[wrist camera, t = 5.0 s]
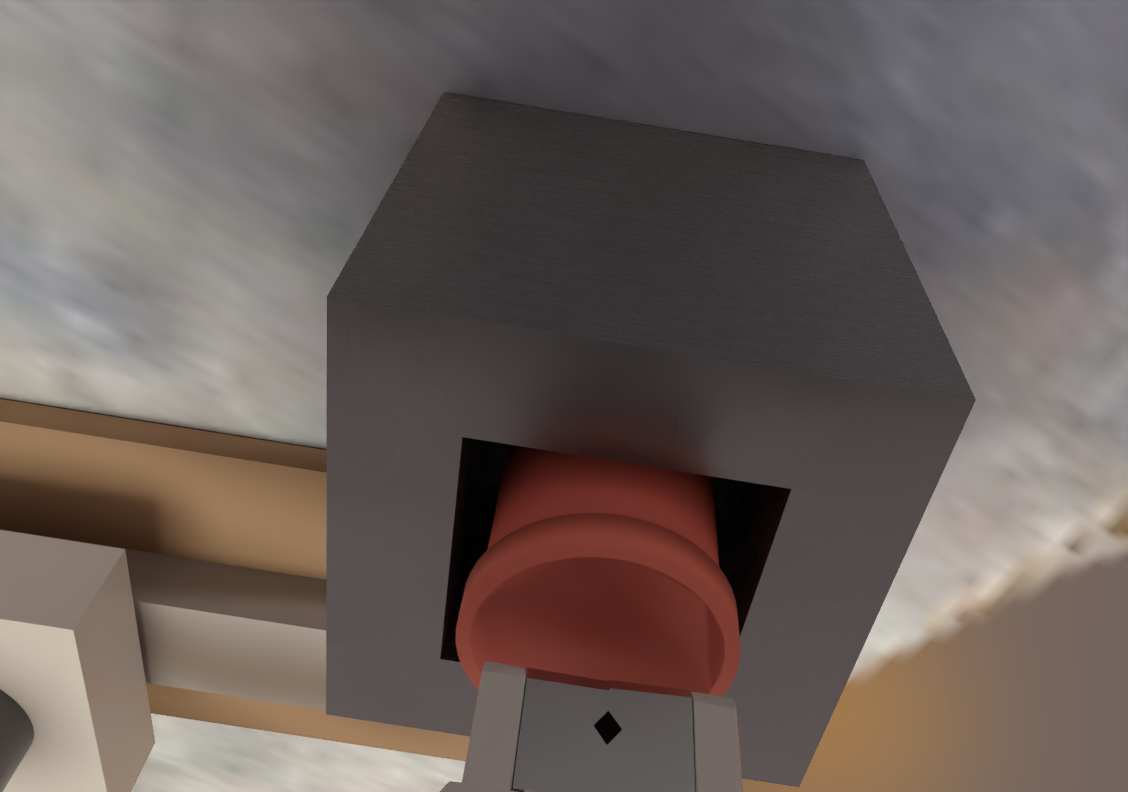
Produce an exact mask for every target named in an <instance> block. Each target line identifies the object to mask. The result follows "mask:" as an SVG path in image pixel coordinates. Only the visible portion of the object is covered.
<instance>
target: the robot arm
mask: <svg viewBox="0 0 1128 792" xmlns="http://www.w3.org/2000/svg"><path fill="white" fill-rule="evenodd" d="M526 668H527V667H521V666H514V665H508V664H502V663H495V662H489V661H485V664H484V667H483V671H482V674H481V679H480V685H479V691H478V696H477V702H476V707H475V713H474V718H473V724H472V730H471V735H470V741H469V746H468V752H467V757H466V763H465V769H464V774H463V780H462V783H458V782H449V783H448V784H447V785H446V786H445V787H444V788H443V789H442V790H441V791H440V792H743V784H742V772H741V760H740V748H739V736H738V724H737V712H736V705H735V703H734V701H733V699H732V698H731V697H726V696H719V695H712V694H705V693H697V692H689V691H688V690H683V689H676V688H668V687H660V686H653V685H645V684H637V683H630V682H622V681H615V680H608V681H603V680H597V679H592V678H586V677H580V676H574V675H568V674H563V673H557V672H551V671H545V670H539V669H534V668H528V669H527V674H526Z"/></svg>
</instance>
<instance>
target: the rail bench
mask: <svg viewBox="0 0 1128 792" xmlns="http://www.w3.org/2000/svg"><path fill="white" fill-rule="evenodd" d="M0 530H4V531H11V532H17V533H24V534H30V535H37V536H43V537H50V538H56V539H62V540H69V541H75V542H82V543H88V544H95V545H101V546H107V547H114V548H120V549H125V552H126V558H127V564H128V571H129V577H130V584H131V590H132V597H133V603H134V610H135V616H136V623H137V629H138V636H139V642H140V649H141V655H142V662H143V668H144V675H145V681H146V687H147V694H148V700H149V707H150V713H154V714H161V715H167V716H174V717H180V718H187V719H193V720H200V721H206V722H213V723H219V724H226V725H232V726H239V727H245V728H252V729H258V730H265V731H272V732H278V733H285V734H291V735H298V736H304V737H311V738H317V739H324V740H330V741H337V742H343V743H350V744H356V745H363V746H369V747H376V748H382V749H389V750H396V751H402V752H409V753H415V754H422V755H428V756H435V757H441V758H448V759H454V760H461V761H466V757H467V752H468V746H469V741H470V736H463V735H457V734H450V733H444V732H437V731H431V730H424V729H418V728H411V727H405V726H398V725H392V724H385V723H379V722H372V721H366V720H359V719H352V718H346V717H339V716H333V715H326V541H327V450H322V449H316V448H309V447H303V446H297V445H290V444H284V443H278V442H271V441H265V440H258V439H252V438H246V437H239V436H233V435H227V434H220V433H214V432H208V431H201V430H195V429H188V428H182V427H176V426H169V425H163V424H157V423H150V422H144V421H138V420H131V419H125V418H119V417H112V416H106V415H99V414H93V413H87V412H80V411H74V410H68V409H61V408H55V407H49V406H42V405H36V404H29V403H23V402H17V401H10V400H4V399H0Z"/></svg>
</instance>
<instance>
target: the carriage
mask: <svg viewBox="0 0 1128 792" xmlns="http://www.w3.org/2000/svg"><path fill="white" fill-rule="evenodd" d="M154 743H155V739H154V733H153V726H152V720H151V713H150V707H149V700H148V694H147V687H146V681H145V675H144V668H143V662H142V655H141V649H140V642H139V636H138V629H137V623H136V616H135V610H134V603H133V597H132V590H131V584H130V577H129V571H128V564H127V558H126V552H125V549H120V548H114V547H107V546H101V545H95V544H88V543H82V542H75V541H69V540H62V539H56V538H50V537H43V536H37V535H30V534H24V533H17V532H11V531H4V530H0V792H131V790H132V788H133V786H134V784H135V782H136V780H137V778H138V776H139V774H140V772H141V770H142V768H143V766H144V764H145V762H146V760H147V758H148V756H149V754H150V751H151V749H152V747H153V745H154Z"/></svg>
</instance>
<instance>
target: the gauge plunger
mask: <svg viewBox="0 0 1128 792" xmlns="http://www.w3.org/2000/svg"><path fill="white" fill-rule="evenodd" d="M456 647H457V653H458V657H459V659H460V662H461V665H462V667H463V669H464V671H465V673H466V675H467V676H468V678H469V680H470V681H471V682H472V684H473V685H474V686H475V687H476V689H477V690H478V691H479V685H480V679H481V674H482V671H483V667H484V664H485V661H489V662H495V663H502V664H508V665H514V666H521V667H527V668H526V674H527V669H528V668H534V669H539V670H545V671H551V672H557V673H563V674H568V675H574V676H580V677H586V678H592V679H597V680H603V681H608V680H615V681H622V682H630V683H637V684H645V685H653V686H660V687H668V688H676V689H683V690H688V691H689V692H697V693H705V694H712V695H719V696H724V694H725V693H726V691H727V690H728V688H729V687H730V685H731V684H732V682H733V679H734V677H735V675H736V673H737V669H738V665H739V661H740V648H741V647H740V636H739V625H738V613H737V606H736V600H735V597H734V594H733V590H732V587H731V586H730V584H729V582H728V580H727V578H726V576H725V574H724V573H723V572H722V570H721V569H720V568H719V557H718V543H717V529H716V515H715V502H714V488H713V476H706V475H700V474H694V473H687V472H681V471H674V470H668V469H662V468H655V467H649V466H643V465H636V464H630V463H624V462H617V461H611V460H605V459H598V458H592V457H586V456H579V455H573V454H567V453H560V452H554V451H548V450H541V449H535V448H529V447H522V446H516V445H510V444H509V447H508V451H507V456H506V461H505V466H504V471H503V476H502V481H501V486H500V490H499V495H498V500H497V505H496V510H495V515H494V520H493V525H492V529H491V534H490V539H489V544H488V549H487V551H486V552H485V553H484V554H483V555H482V556H481V557H480V558H479V560H478V561H477V563H476V564H475V566H474V567H473V569H472V570H471V572H470V575H469V577H468V579H467V582H466V584H465V589H464V593H463V598H462V602H461V607H460V611H459V616H458V621H457V626H456Z"/></svg>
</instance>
